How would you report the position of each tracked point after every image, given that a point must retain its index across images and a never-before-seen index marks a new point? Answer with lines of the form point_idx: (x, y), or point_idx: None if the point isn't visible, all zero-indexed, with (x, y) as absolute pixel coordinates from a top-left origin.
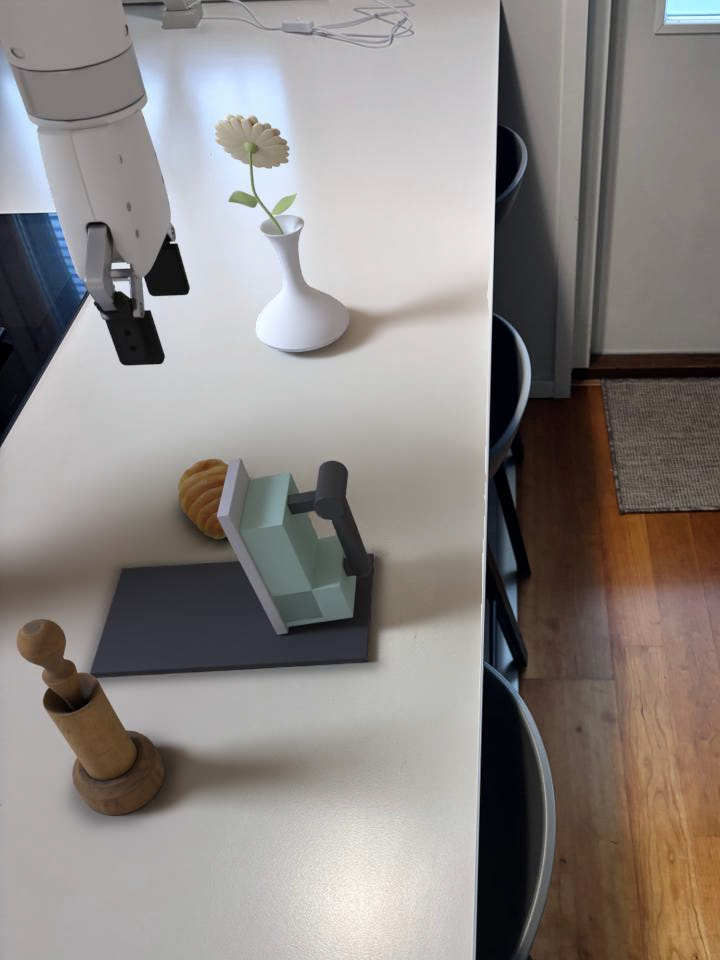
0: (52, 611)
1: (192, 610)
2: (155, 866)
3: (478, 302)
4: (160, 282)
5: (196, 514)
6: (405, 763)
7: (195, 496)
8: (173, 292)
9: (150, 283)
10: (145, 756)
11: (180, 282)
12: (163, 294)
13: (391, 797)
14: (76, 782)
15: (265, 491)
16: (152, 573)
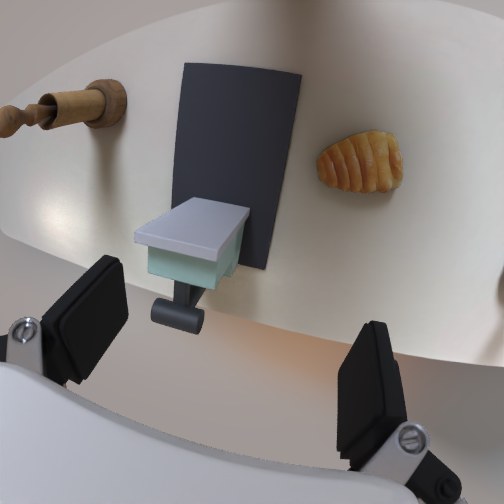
0: (266, 22)
1: (233, 133)
2: (66, 131)
3: (483, 363)
4: (355, 365)
5: (341, 146)
6: (110, 251)
7: (358, 150)
8: (347, 359)
9: (366, 348)
10: (93, 124)
11: (341, 387)
12: (355, 343)
13: (95, 241)
14: (88, 85)
15: (194, 264)
16: (287, 100)
